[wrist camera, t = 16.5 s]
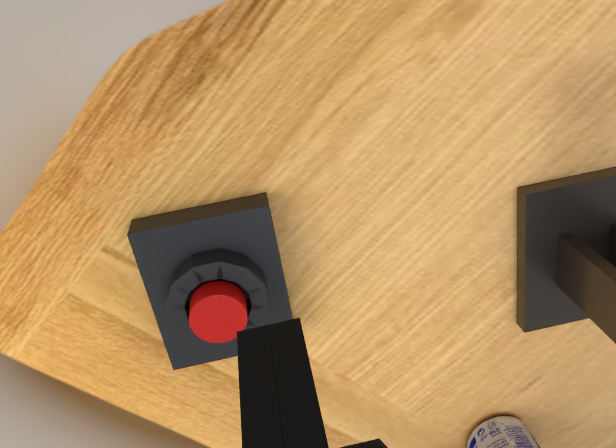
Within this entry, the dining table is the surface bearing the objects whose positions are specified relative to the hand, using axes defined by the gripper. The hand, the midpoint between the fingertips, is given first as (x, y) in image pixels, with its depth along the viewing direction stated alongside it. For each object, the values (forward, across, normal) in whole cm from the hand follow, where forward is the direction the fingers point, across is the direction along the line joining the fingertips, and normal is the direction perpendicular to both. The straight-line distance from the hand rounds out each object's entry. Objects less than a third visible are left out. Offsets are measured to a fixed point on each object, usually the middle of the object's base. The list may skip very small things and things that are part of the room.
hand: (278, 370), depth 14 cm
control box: (+24, -4, -11) cm, 27 cm away
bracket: (+24, +23, -15) cm, 37 cm away
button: (+21, -4, -11) cm, 24 cm away
